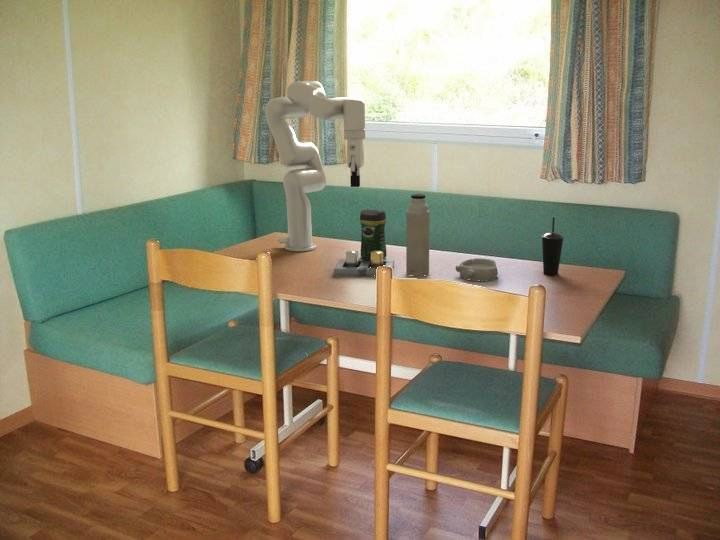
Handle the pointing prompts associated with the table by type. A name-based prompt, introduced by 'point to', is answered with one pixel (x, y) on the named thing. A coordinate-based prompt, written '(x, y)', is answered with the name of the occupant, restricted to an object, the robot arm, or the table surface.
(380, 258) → the brass cylinder
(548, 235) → the drinking cup
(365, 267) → the jig
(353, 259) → the brushed metal cylinder
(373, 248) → the coffee jar
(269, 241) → the table surface
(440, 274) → the table surface
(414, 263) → the thermos bottle
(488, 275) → the dish
